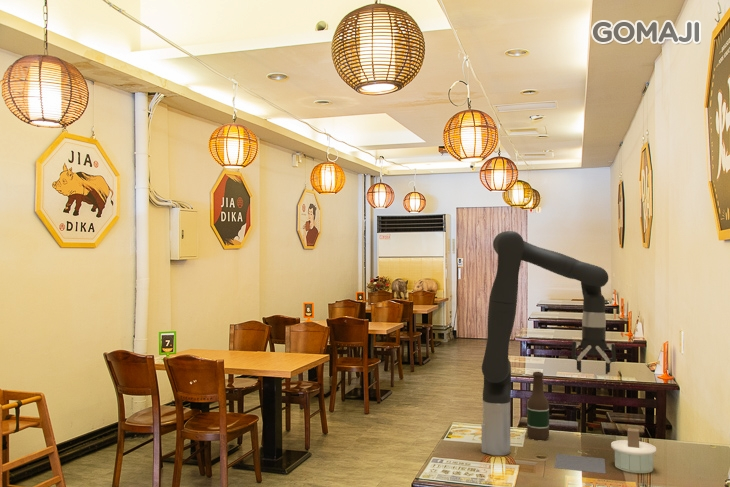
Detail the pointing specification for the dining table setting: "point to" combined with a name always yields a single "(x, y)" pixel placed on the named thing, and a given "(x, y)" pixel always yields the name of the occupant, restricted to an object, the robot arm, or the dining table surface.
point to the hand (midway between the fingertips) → (593, 372)
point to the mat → (580, 463)
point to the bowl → (634, 462)
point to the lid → (633, 445)
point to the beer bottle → (538, 411)
